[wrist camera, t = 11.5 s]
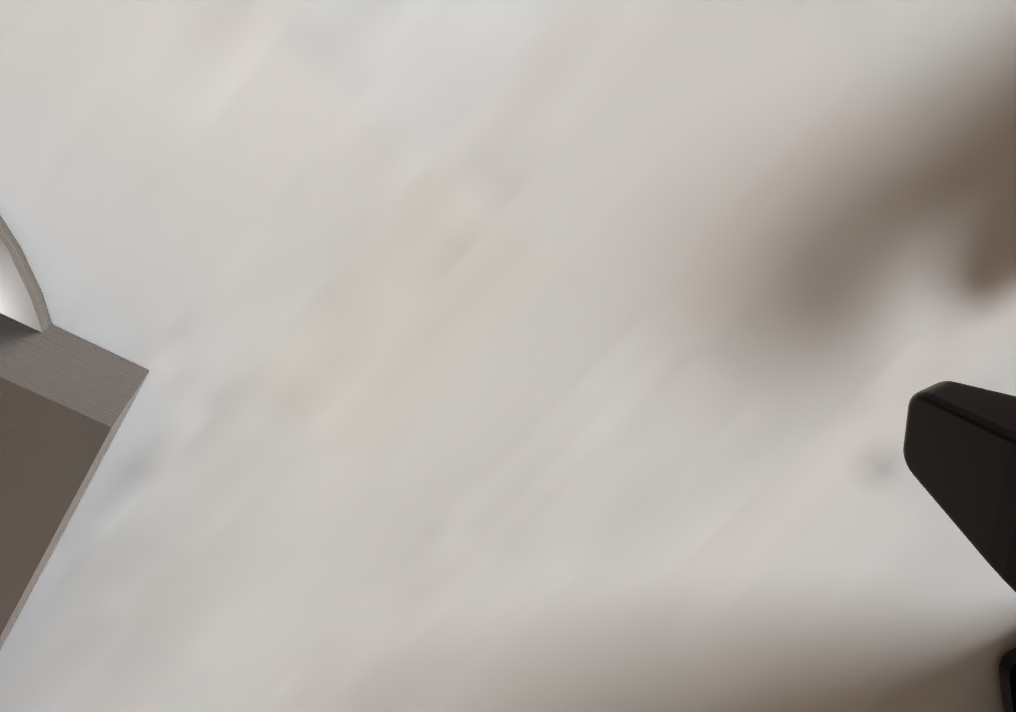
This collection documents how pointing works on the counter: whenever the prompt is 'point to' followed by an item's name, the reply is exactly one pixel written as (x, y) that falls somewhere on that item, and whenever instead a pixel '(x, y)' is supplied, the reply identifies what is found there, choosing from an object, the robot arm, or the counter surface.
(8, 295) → the desk organizer stand
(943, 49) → the counter surface
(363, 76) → the counter surface
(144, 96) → the counter surface
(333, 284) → the counter surface
